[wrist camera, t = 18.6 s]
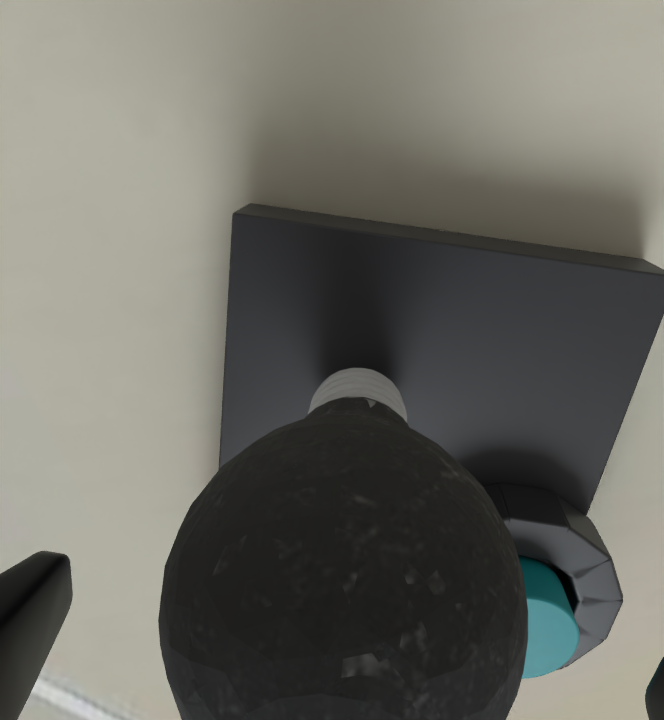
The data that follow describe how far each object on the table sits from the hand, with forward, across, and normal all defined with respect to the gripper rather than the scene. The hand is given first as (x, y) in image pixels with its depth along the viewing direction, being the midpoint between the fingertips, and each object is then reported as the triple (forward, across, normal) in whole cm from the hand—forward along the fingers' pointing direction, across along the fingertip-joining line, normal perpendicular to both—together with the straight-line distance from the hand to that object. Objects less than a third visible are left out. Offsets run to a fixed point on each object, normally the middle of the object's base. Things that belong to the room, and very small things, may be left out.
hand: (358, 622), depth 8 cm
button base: (+10, -1, +2) cm, 10 cm away
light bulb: (+8, 0, 0) cm, 8 cm away
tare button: (+6, -5, +5) cm, 10 cm away
